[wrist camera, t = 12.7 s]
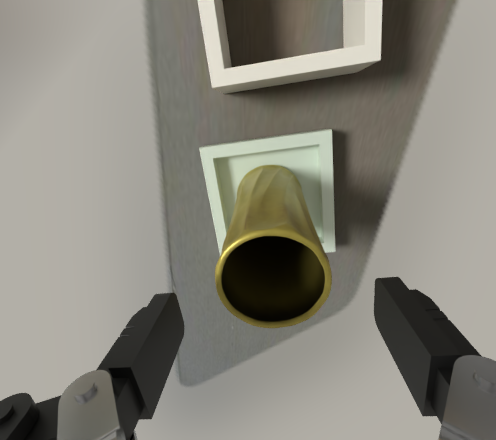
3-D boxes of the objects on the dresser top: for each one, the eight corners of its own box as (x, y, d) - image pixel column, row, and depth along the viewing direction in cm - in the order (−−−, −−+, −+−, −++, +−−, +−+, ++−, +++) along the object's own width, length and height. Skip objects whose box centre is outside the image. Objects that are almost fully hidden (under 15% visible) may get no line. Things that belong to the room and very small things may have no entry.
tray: (204, 145, 25) (199, 148, 23) (326, 128, 23) (331, 129, 21) (224, 252, 28) (221, 261, 27) (330, 242, 27) (335, 251, 25)
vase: (313, 209, 25) (364, 308, 12) (256, 237, 27) (246, 353, 13) (283, 151, 24) (305, 192, 10) (225, 184, 25) (177, 257, 12)
